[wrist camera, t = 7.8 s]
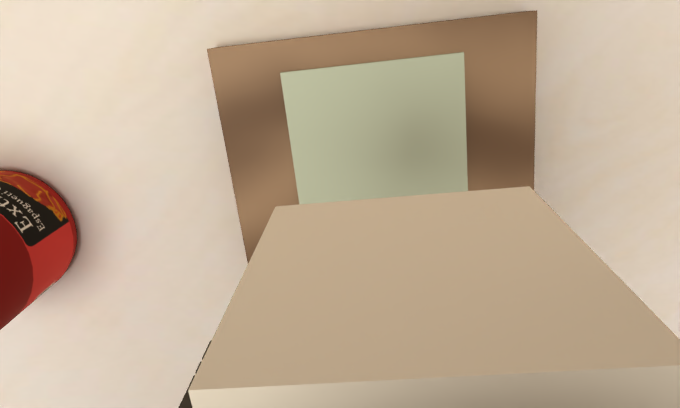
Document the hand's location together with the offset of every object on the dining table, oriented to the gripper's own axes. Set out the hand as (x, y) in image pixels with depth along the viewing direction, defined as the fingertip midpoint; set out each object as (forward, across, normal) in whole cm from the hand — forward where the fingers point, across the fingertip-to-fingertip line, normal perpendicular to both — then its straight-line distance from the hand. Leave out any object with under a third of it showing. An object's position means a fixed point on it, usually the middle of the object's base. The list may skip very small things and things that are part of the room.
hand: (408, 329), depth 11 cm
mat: (+16, 0, 0) cm, 16 cm away
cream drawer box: (+1, 0, 0) cm, 1 cm away
